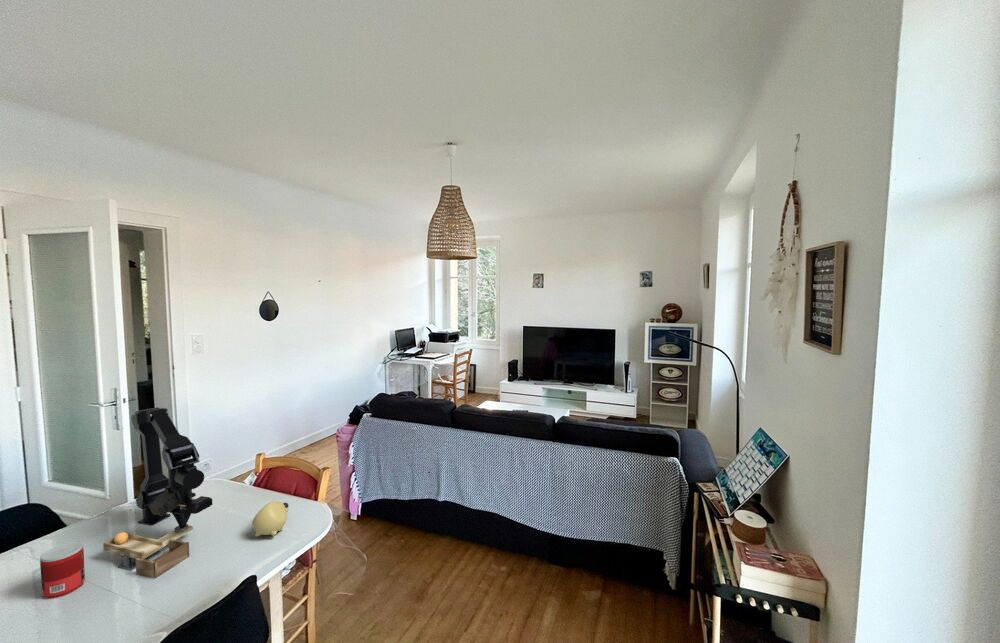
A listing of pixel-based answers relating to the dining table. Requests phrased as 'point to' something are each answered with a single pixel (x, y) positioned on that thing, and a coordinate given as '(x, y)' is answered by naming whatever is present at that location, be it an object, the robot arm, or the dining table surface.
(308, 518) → the dining table surface
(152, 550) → the lever
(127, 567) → the fulcrum
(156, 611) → the dining table surface
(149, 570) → the tray
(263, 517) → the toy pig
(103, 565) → the dining table surface
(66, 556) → the canned food
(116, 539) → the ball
